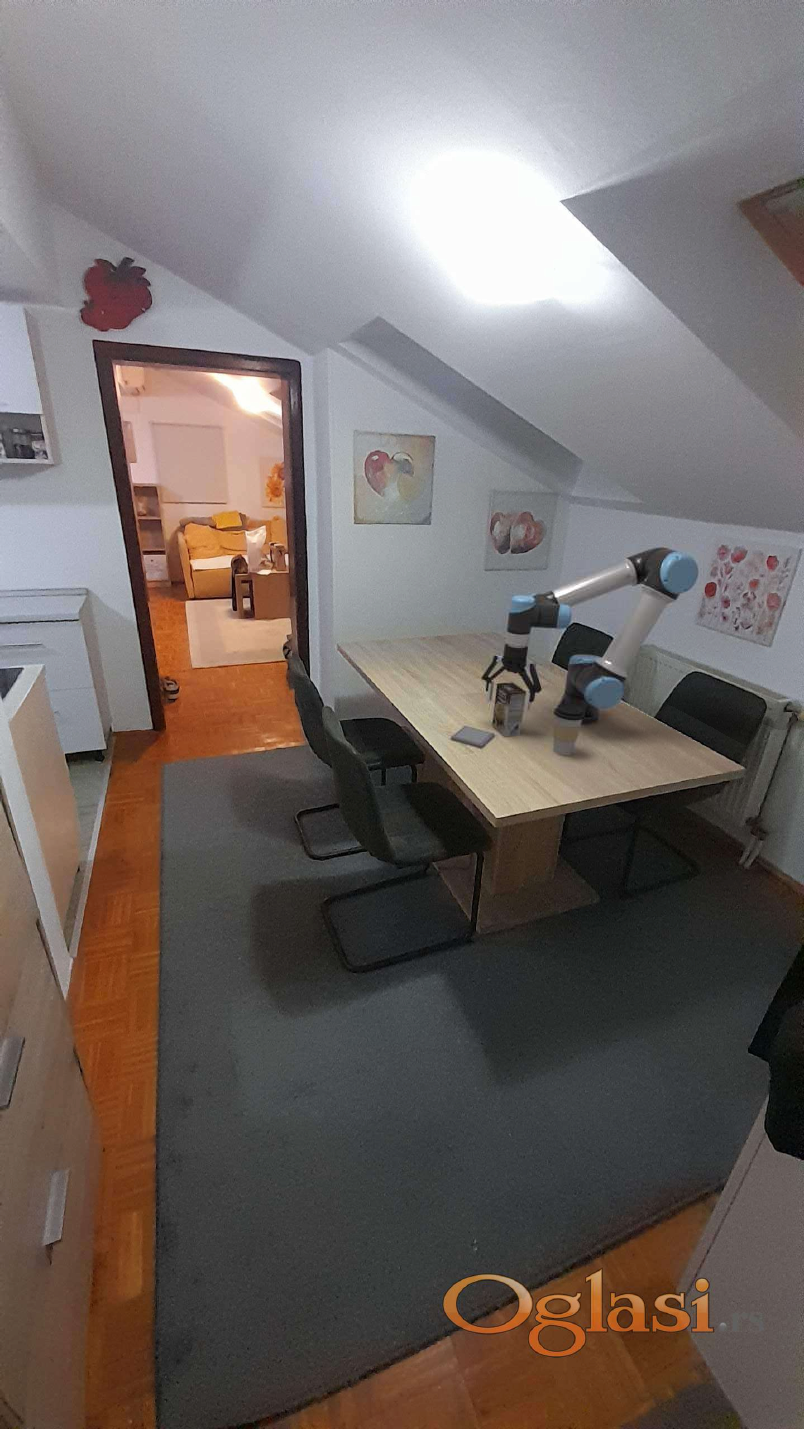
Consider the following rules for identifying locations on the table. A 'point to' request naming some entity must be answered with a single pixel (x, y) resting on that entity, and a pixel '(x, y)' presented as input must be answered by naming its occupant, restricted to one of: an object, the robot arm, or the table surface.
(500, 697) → the coffee box
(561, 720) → the coffee cup
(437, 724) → the table surface
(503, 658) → the robot arm
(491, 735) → the tray
